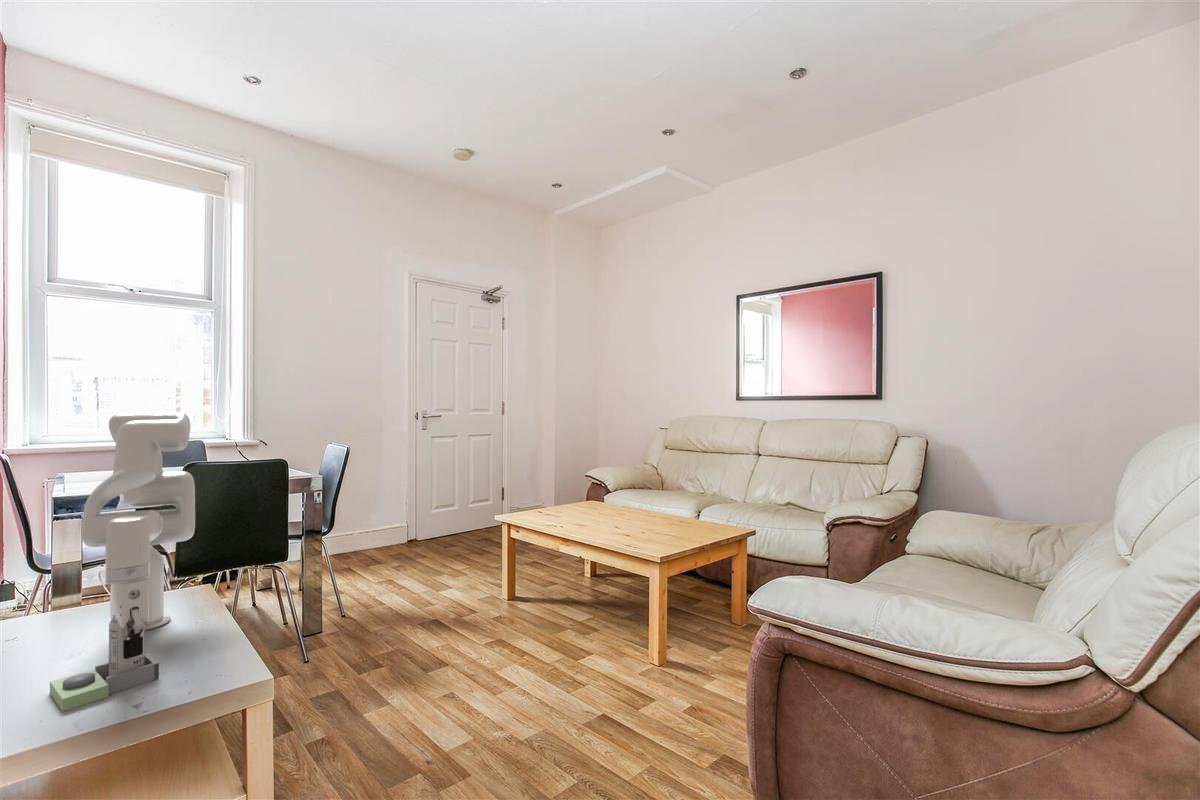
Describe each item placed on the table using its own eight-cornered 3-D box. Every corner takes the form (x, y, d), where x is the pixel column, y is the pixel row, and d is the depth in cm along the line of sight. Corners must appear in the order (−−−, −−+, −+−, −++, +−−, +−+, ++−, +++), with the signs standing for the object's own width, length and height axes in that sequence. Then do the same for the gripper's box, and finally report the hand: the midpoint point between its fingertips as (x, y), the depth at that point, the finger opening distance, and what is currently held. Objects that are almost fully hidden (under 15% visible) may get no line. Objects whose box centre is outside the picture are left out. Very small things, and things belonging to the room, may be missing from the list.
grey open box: (49, 693, 116) (50, 676, 116) (143, 665, 129) (143, 650, 129) (62, 711, 109) (62, 694, 109) (160, 679, 122) (160, 664, 122)
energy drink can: (142, 681, 121) (142, 613, 121) (106, 689, 118) (106, 619, 118) (146, 670, 126) (146, 605, 126) (111, 678, 123) (111, 611, 123)
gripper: (161, 575, 120) (160, 655, 120) (137, 562, 131) (136, 636, 130) (117, 584, 114) (116, 668, 114) (95, 570, 124) (94, 647, 124)
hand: (127, 651), depth 122 cm, fingers open, 8 cm apart
